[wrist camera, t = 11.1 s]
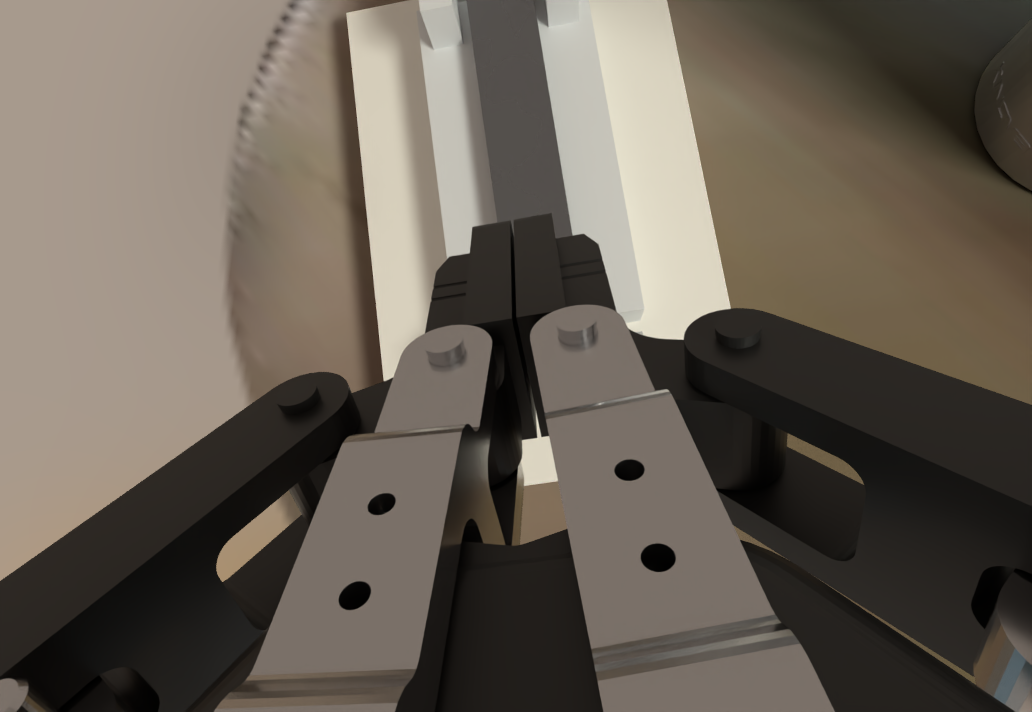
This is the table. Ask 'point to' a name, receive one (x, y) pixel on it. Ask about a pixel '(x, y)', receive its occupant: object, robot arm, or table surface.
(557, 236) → the bar
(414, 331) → the stand
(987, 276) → the table surface
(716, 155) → the table surface
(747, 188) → the table surface
